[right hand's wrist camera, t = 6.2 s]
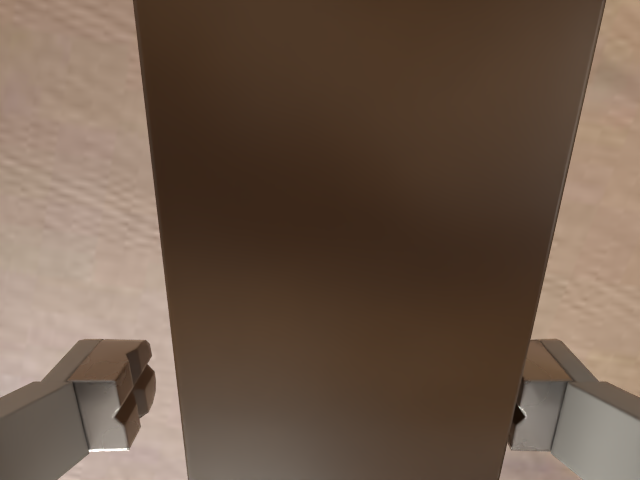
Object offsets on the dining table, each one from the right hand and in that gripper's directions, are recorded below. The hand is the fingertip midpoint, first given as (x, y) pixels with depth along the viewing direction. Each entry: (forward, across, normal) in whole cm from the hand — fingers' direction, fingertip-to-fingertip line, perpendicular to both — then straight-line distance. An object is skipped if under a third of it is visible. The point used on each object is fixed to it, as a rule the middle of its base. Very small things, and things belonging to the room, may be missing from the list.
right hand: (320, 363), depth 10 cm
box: (+8, -1, -10) cm, 12 cm away
